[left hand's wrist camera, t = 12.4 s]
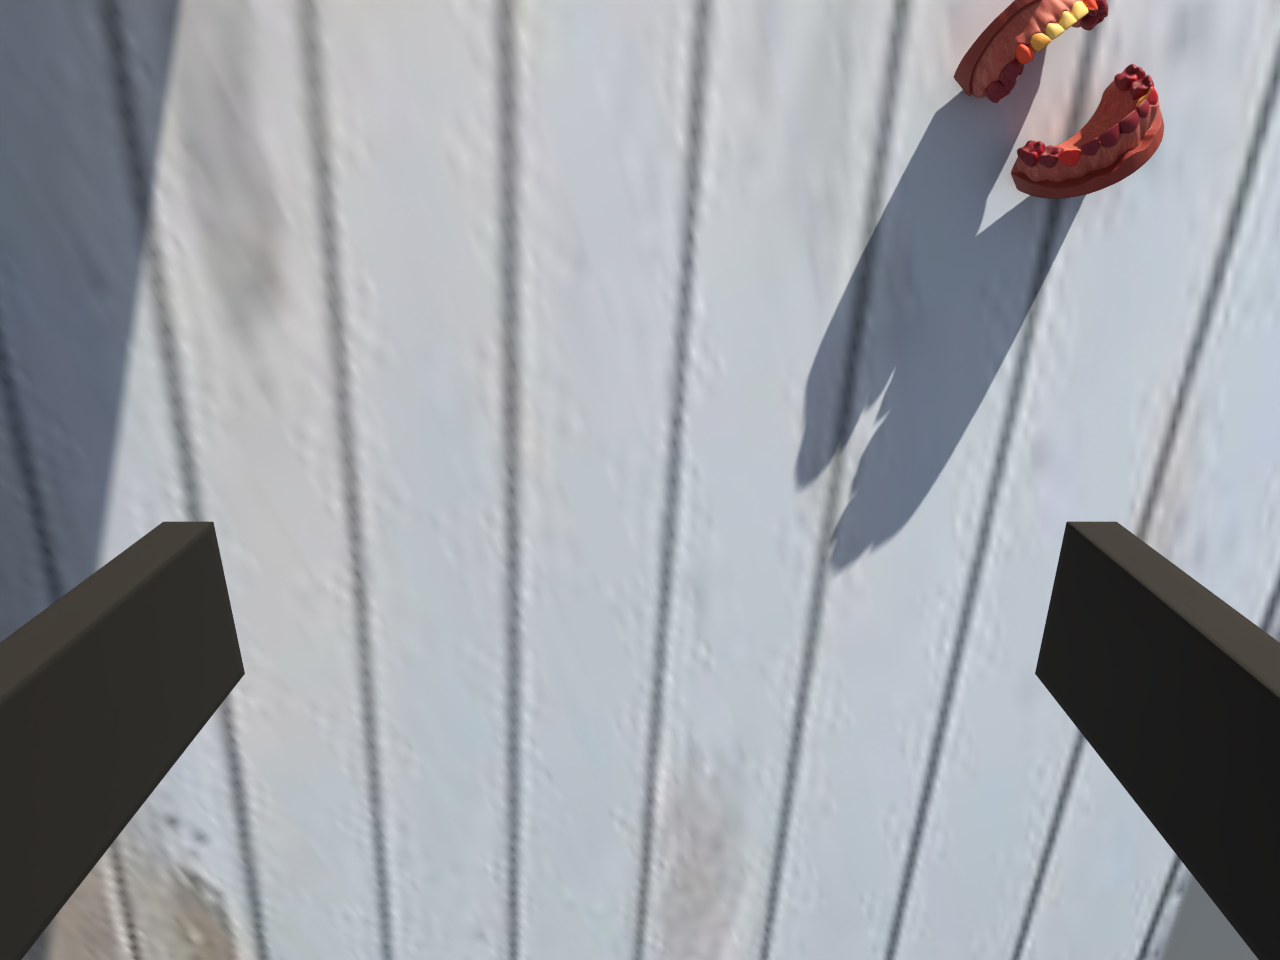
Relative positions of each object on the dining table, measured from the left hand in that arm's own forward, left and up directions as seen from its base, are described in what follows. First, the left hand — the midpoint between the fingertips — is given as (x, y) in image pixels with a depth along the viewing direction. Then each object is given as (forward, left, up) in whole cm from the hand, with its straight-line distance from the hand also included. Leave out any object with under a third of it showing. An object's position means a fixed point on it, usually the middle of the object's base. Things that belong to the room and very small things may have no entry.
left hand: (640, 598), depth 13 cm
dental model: (+14, +13, -26) cm, 32 cm away
